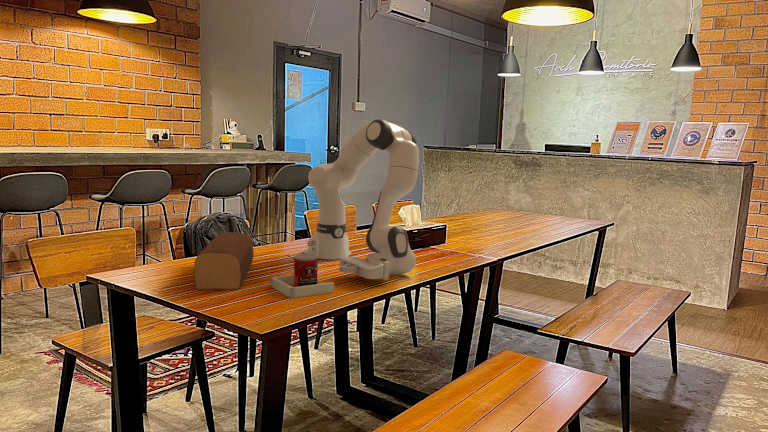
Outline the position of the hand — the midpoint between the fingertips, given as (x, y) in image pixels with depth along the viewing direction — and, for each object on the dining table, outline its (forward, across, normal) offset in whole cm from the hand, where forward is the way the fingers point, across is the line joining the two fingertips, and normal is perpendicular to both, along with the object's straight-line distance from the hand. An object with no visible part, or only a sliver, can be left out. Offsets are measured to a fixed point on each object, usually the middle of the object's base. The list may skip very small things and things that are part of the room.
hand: (341, 269), depth 202 cm
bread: (+31, -28, +6) cm, 42 cm away
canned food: (+14, 0, +5) cm, 14 cm away
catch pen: (+14, 0, +5) cm, 15 cm away
